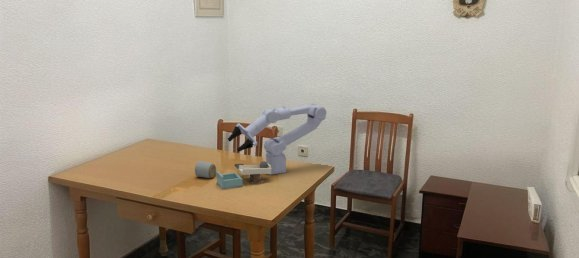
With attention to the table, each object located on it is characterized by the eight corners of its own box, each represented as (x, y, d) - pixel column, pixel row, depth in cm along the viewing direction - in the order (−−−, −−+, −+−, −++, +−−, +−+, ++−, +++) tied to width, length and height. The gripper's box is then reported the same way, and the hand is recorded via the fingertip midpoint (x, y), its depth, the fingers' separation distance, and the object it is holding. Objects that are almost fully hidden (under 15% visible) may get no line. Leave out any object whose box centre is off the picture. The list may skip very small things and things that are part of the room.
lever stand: (258, 177, 238) (257, 169, 237) (264, 182, 231) (263, 174, 230) (246, 179, 235) (246, 171, 234) (251, 184, 228) (251, 176, 227)
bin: (236, 180, 234) (236, 168, 232) (242, 186, 226) (242, 173, 225) (216, 183, 230) (216, 171, 229) (222, 189, 222) (221, 176, 221)
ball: (265, 168, 236) (266, 160, 235) (268, 171, 232) (269, 162, 232) (257, 168, 234) (258, 160, 234) (260, 170, 231) (261, 162, 230)
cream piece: (260, 165, 244) (261, 158, 243) (271, 173, 232) (271, 166, 231) (233, 165, 238) (234, 158, 238) (242, 174, 226) (243, 167, 226)
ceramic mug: (210, 180, 234) (209, 164, 232) (194, 178, 236) (194, 163, 235) (220, 173, 244) (219, 158, 242) (205, 171, 246) (204, 157, 244)
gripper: (244, 114, 237) (222, 131, 234) (263, 133, 230) (240, 151, 227) (248, 121, 243) (226, 138, 240) (266, 140, 236) (243, 158, 233)
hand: (233, 145), depth 234 cm, fingers open, 7 cm apart
